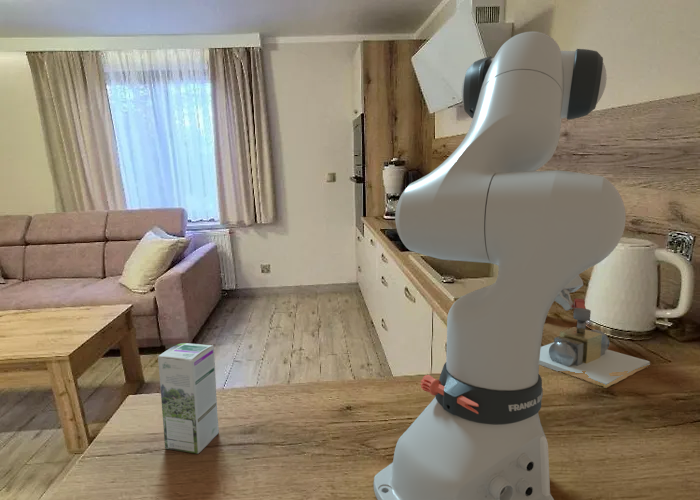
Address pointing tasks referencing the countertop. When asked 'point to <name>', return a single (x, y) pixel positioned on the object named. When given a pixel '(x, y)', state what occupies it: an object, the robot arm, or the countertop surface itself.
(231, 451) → the countertop surface
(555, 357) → the valve
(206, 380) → the syrup box
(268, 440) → the countertop surface
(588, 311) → the lever
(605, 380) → the mounting board
